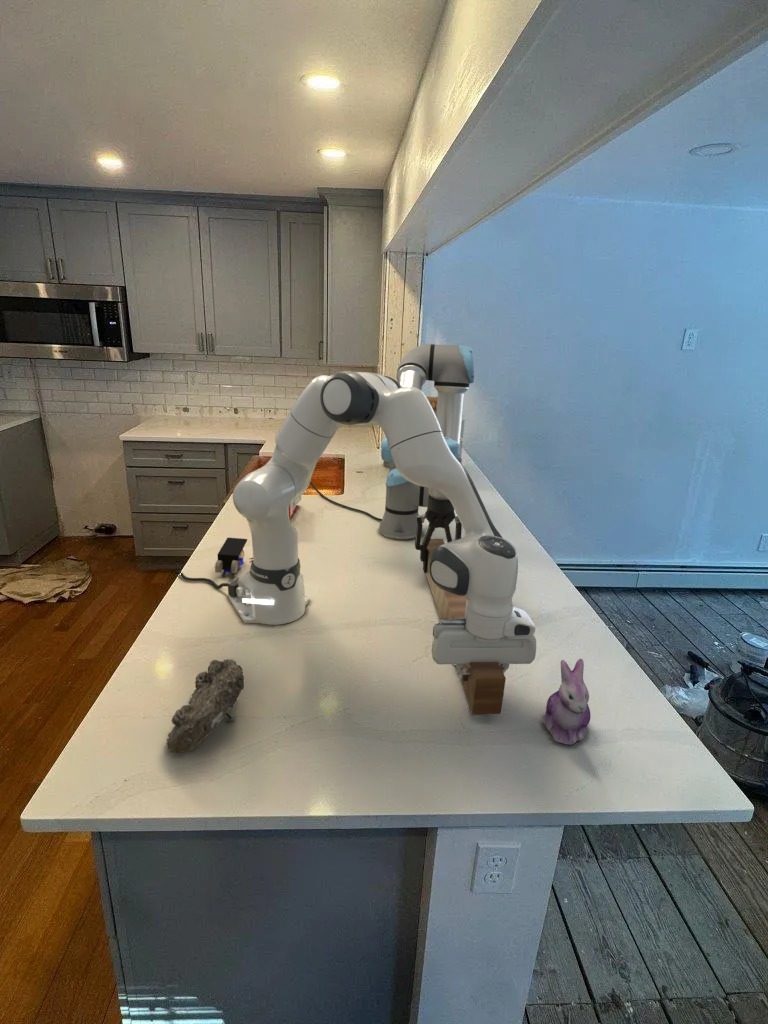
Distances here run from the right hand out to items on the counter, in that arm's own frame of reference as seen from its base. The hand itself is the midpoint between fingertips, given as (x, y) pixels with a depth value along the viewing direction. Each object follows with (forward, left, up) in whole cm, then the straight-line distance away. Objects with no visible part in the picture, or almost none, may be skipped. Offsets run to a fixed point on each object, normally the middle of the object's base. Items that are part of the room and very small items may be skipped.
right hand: (435, 571), depth 165 cm
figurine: (+60, -24, -3) cm, 65 cm away
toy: (-71, -8, -3) cm, 72 cm away
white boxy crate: (-86, +77, -3) cm, 116 cm away
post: (+22, -16, -1) cm, 27 cm away
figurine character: (-41, -44, -3) cm, 60 cm away
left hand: (+44, -32, +2) cm, 54 cm away
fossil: (+15, -76, -3) cm, 78 cm away
